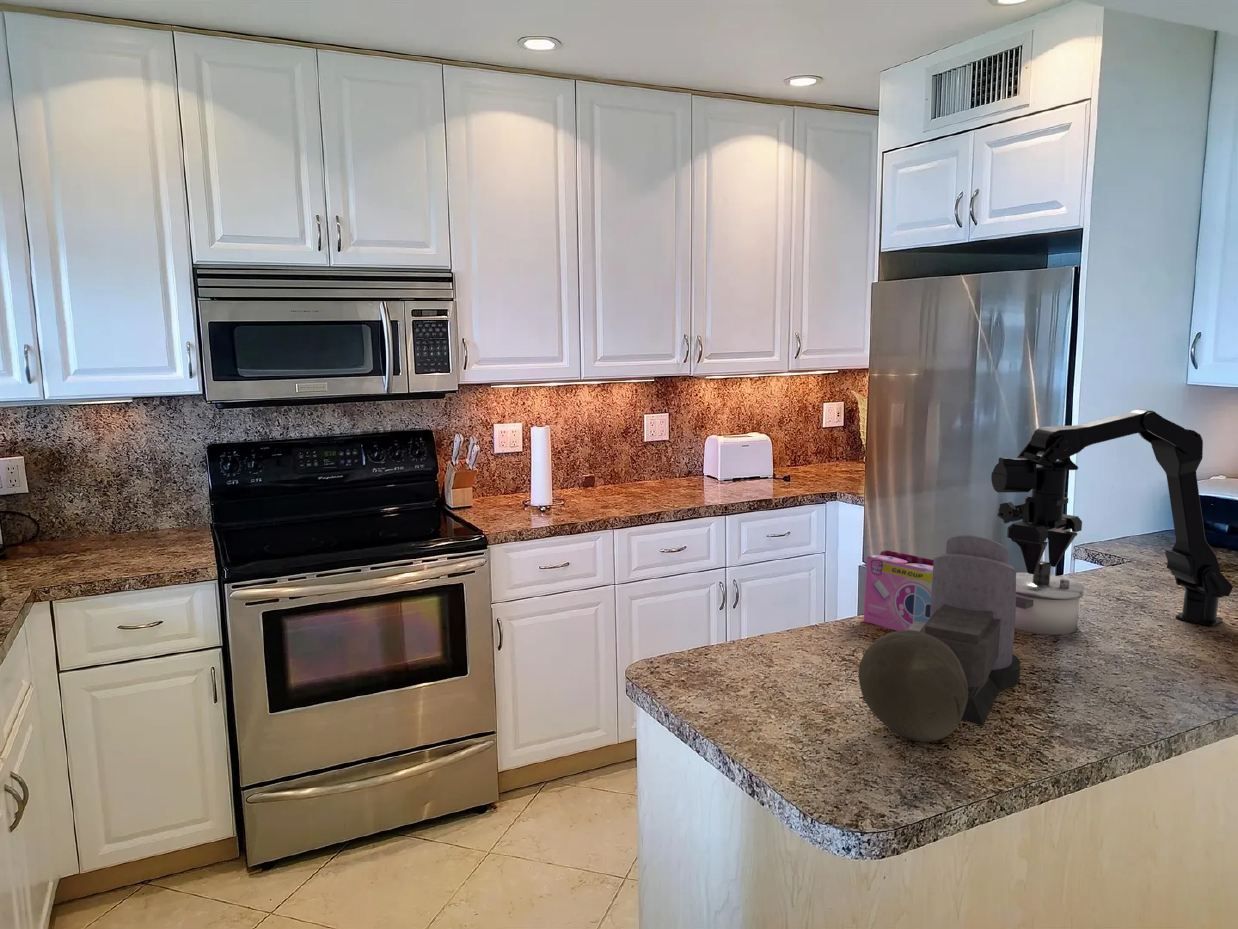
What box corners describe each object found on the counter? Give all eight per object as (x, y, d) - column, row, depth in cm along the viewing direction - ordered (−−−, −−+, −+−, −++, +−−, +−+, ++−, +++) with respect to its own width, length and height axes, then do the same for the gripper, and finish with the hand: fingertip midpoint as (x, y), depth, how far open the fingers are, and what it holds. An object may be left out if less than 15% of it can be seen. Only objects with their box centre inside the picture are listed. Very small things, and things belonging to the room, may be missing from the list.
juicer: (930, 646, 156) (939, 515, 152) (1026, 664, 147) (1037, 526, 144) (887, 704, 130) (895, 549, 127) (999, 730, 122) (1012, 565, 118)
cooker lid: (1022, 574, 178) (1024, 550, 177) (1097, 590, 166) (1099, 565, 166) (984, 586, 169) (986, 561, 168) (1061, 605, 157) (1063, 577, 156)
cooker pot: (1026, 604, 180) (1029, 572, 179) (1095, 622, 169) (1099, 588, 168) (978, 623, 168) (980, 588, 167) (1049, 643, 157) (1052, 606, 156)
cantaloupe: (938, 714, 127) (944, 618, 124) (981, 761, 113) (989, 653, 110) (845, 715, 126) (849, 618, 124) (876, 762, 112) (882, 653, 110)
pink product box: (856, 620, 169) (859, 554, 167) (877, 612, 175) (880, 548, 173) (972, 653, 152) (978, 580, 150) (992, 643, 157) (997, 572, 155)
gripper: (1030, 482, 177) (1024, 554, 179) (983, 491, 165) (978, 568, 168) (1086, 489, 168) (1079, 566, 170) (1040, 499, 157) (1034, 581, 159)
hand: (1041, 570), depth 167 cm, fingers open, 9 cm apart
